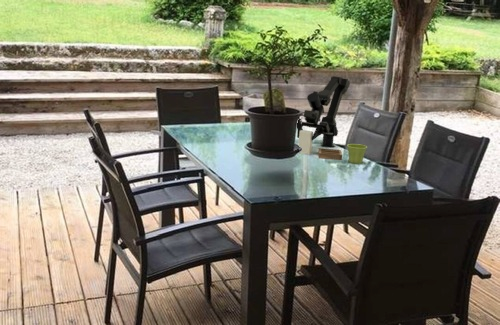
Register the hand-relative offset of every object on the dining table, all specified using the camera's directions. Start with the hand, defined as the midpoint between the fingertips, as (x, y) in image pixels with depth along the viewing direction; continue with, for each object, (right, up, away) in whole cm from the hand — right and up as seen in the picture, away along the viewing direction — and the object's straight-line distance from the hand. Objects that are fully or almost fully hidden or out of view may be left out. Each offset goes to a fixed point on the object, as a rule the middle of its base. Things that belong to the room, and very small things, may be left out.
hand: (304, 138), depth 273 cm
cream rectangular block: (0, -8, +3) cm, 8 cm away
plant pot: (+23, -12, -9) cm, 28 cm away
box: (+12, -9, -1) cm, 15 cm away
